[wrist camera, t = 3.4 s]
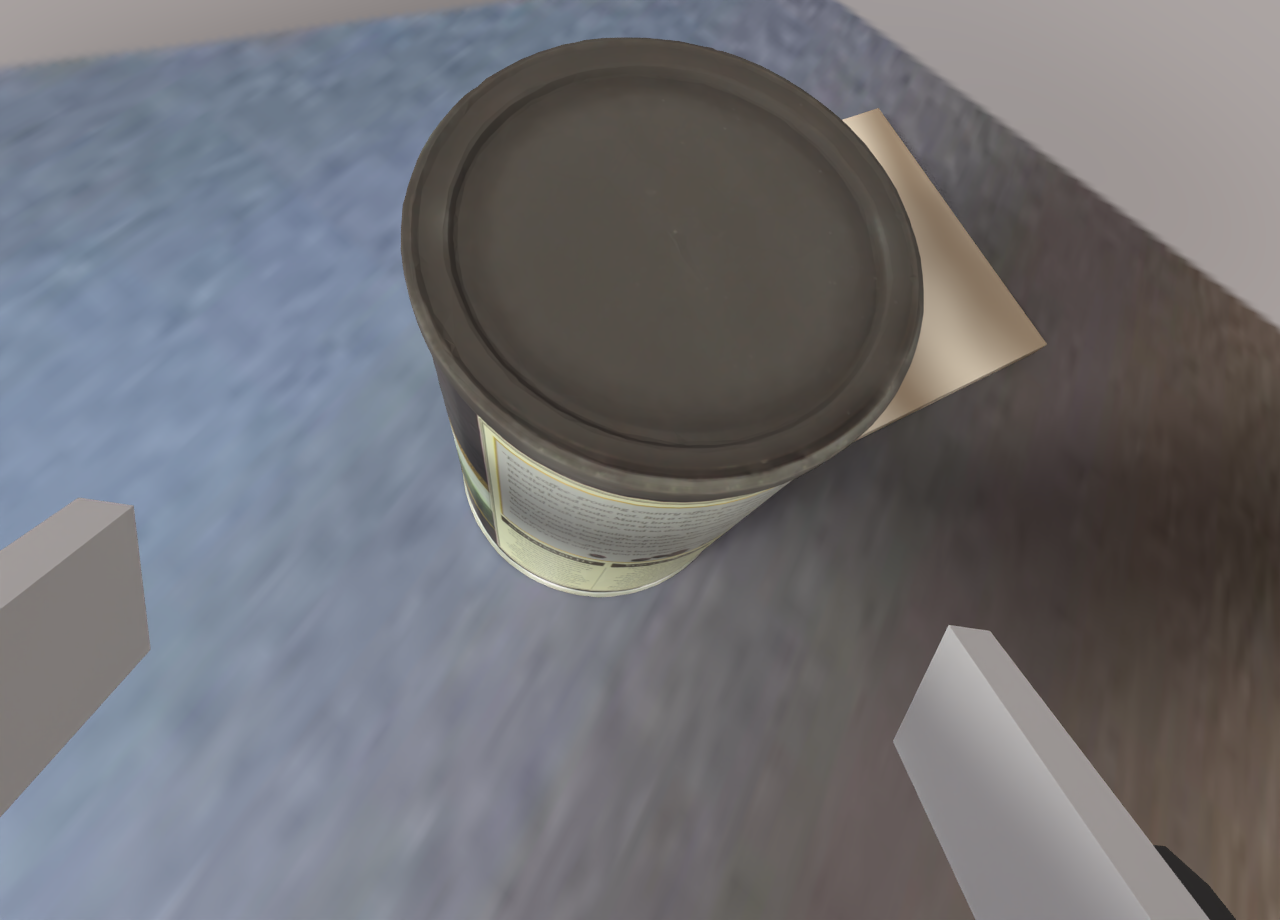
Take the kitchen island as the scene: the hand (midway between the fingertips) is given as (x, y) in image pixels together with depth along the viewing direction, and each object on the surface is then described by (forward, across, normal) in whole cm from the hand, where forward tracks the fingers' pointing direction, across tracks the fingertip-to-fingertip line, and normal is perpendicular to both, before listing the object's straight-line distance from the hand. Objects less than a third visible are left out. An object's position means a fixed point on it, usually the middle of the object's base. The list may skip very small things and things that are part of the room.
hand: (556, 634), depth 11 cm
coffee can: (+15, +1, -4) cm, 15 cm away
